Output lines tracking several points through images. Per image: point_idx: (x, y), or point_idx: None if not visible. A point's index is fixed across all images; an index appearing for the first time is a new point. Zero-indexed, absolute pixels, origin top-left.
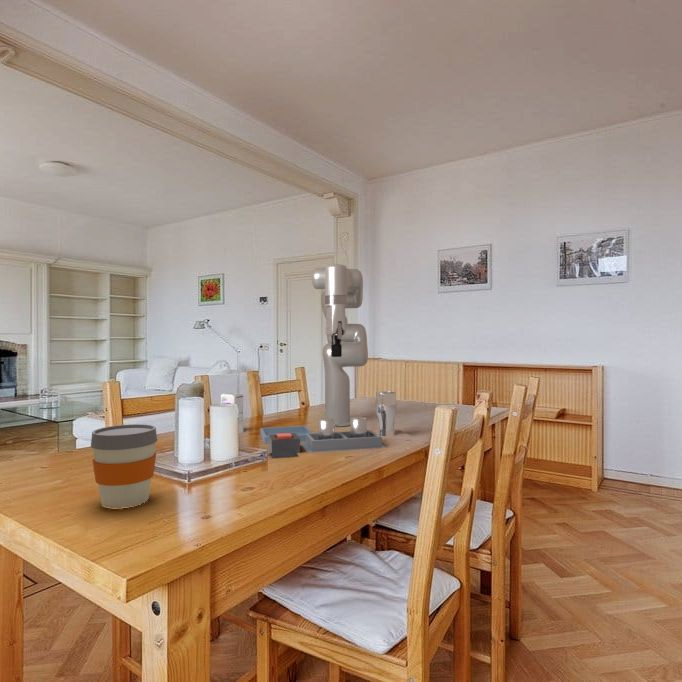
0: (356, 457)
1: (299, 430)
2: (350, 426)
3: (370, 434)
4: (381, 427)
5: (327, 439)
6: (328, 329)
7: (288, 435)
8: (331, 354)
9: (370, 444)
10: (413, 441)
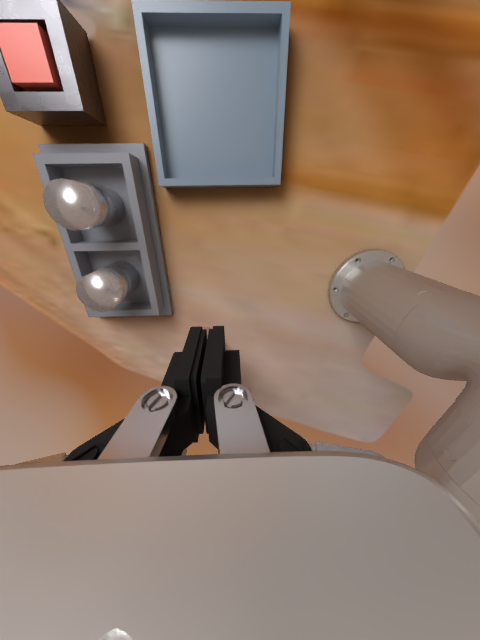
0: (45, 251)
1: (273, 164)
2: (104, 269)
3: (139, 307)
4: None
5: None
6: (47, 622)
7: (14, 69)
8: (214, 330)
9: None
10: (166, 368)
